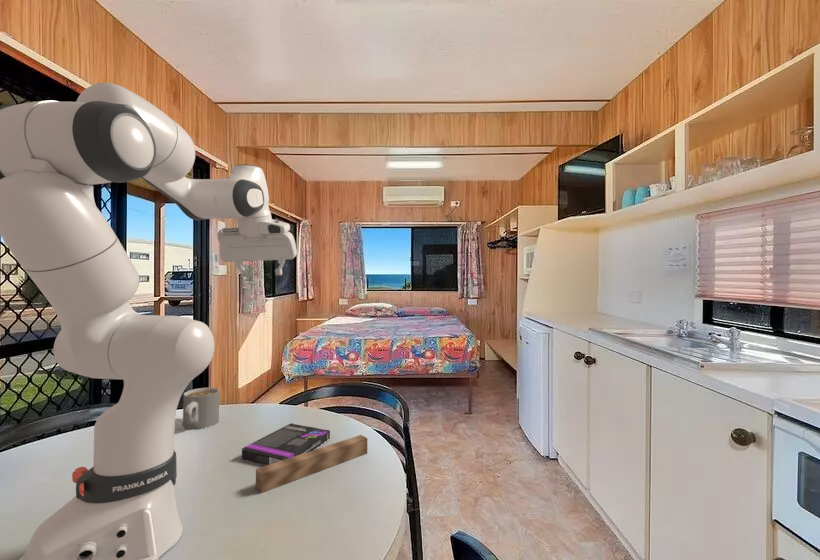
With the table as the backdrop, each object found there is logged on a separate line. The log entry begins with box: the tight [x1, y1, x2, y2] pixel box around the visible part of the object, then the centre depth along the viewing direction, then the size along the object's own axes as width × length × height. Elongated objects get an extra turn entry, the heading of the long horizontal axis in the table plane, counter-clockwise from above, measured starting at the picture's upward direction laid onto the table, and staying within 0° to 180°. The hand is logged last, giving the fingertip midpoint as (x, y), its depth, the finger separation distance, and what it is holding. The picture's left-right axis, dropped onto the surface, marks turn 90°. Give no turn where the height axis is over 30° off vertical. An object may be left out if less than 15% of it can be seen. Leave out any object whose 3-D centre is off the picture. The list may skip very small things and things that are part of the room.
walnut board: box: [255, 434, 368, 494], centre depth 90 cm, size 28×3×4 cm, turn 133°
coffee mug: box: [182, 387, 220, 430], centre depth 117 cm, size 13×10×10 cm
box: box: [241, 422, 331, 466], centre depth 101 cm, size 14×4×20 cm
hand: (262, 275), depth 106 cm, fingers open, 8 cm apart
